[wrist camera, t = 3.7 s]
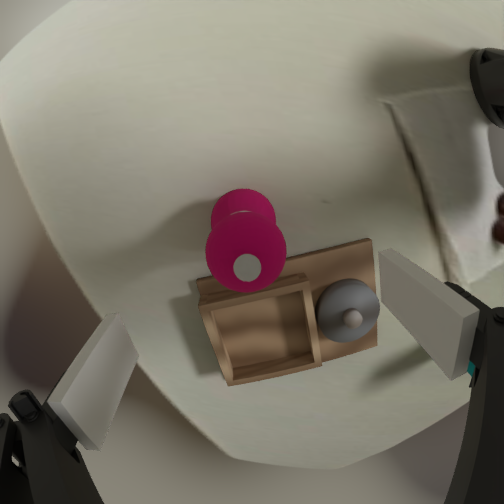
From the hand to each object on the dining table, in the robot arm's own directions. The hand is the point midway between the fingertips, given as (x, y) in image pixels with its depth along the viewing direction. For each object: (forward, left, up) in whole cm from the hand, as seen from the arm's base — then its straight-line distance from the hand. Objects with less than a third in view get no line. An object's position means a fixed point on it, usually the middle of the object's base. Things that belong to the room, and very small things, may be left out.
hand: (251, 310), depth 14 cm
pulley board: (+16, +4, -25) cm, 30 cm away
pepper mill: (0, 0, -25) cm, 25 cm away
